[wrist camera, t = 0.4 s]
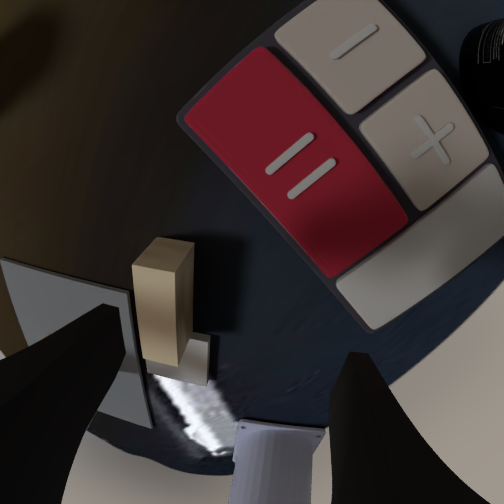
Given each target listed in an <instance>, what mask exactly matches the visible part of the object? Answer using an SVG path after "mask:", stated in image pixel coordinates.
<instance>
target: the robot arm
mask: <svg viewBox="0 0 504 504" xmlns="http://www.w3.org/2000/svg"><path fill="white" fill-rule="evenodd" d="M125 355H126V349H125V344H124V338H123V332H122V325H121V318H120V311H119V307H115V306H112V305H108V304H104V303H102V304H101V305H99V306H97V307H95V308H93V309H92V310H90V311H88V312H87V313H85V314H83V315H82V316H80V317H78V318H77V319H75V320H74V321H72V322H70V323H69V324H67V325H65V326H64V327H62V328H60V329H59V330H57V331H55V332H54V333H52V334H50V335H49V336H47V337H45V338H43V339H41V340H40V341H38V342H36V343H34V344H32V345H30V346H29V347H27V348H25V349H23V350H21V351H19V352H17V353H15V354H13V355H11V356H8V357H6V358H4V359H2V360H0V504H61V501H62V497H63V493H64V490H65V486H66V482H67V479H68V476H69V472H70V470H71V467H72V464H73V461H74V458H75V455H76V452H77V450H78V447H79V445H80V442H81V440H82V437H83V435H84V433H85V431H86V429H87V427H88V425H89V424H90V422H91V420H92V418H93V417H94V415H95V413H96V411H97V410H98V408H99V406H100V404H101V403H102V401H103V399H104V398H105V396H106V394H107V392H108V391H109V389H110V387H111V385H112V384H113V382H114V380H115V378H116V376H117V374H118V371H119V369H120V367H121V364H122V362H123V359H124V357H125ZM329 434H330V448H331V465H332V502H331V504H490V503H489V502H487V501H486V500H485V499H483V498H482V497H481V496H480V495H478V494H477V493H476V492H475V491H473V490H472V489H471V488H470V487H468V486H467V485H466V484H465V483H464V482H463V481H462V480H461V479H460V478H459V477H458V476H457V475H456V474H455V473H454V472H453V471H452V470H451V469H450V468H449V467H448V466H447V465H446V464H445V463H444V462H443V461H442V460H441V459H440V458H439V457H438V455H437V454H436V453H435V452H434V451H433V449H432V448H431V447H430V446H429V445H428V443H427V442H426V441H425V440H424V438H423V437H422V436H421V435H420V433H419V432H418V430H417V429H416V428H415V426H414V425H413V423H412V422H411V421H410V419H409V418H408V417H407V415H406V414H405V412H404V411H403V409H402V407H401V406H400V404H399V403H398V401H397V400H396V398H395V397H394V395H393V393H392V392H391V390H390V389H389V387H388V385H387V384H386V382H385V380H384V379H383V377H382V376H381V374H380V372H379V371H378V369H377V367H376V366H375V364H374V362H373V361H372V359H371V358H370V356H369V354H367V353H358V352H349V354H348V356H347V358H346V361H345V363H344V365H343V367H342V369H341V372H340V374H339V376H338V378H337V380H336V382H335V384H334V386H333V388H332V391H331V393H330V405H329ZM324 435H325V429H322V428H311V427H300V426H291V425H282V424H274V423H267V422H260V421H254V420H247V419H241V420H240V421H239V426H238V431H237V437H236V443H235V448H234V454H233V462H235V463H236V465H235V470H234V475H233V480H232V485H231V490H230V495H229V501H228V504H311V483H312V455H313V453H314V452H315V450H316V448H317V447H318V445H319V443H320V442H321V440H322V438H323V437H324Z"/></svg>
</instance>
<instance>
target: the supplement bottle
mask: <svg viewBox="0 0 504 504" xmlns="http://www.w3.org/2000/svg"><path fill="white" fill-rule="evenodd" d="M459 70H460V77H461V82H462V85H463V89H464V91H465V94H466V96H467V99H468V101H469V103H470V104H471V106H472V108H473V109H474V111H475V112H476V114H477V115H478V116H479V118H480V119H481V120H482V121H483V122H484V123H485V124H486V125H487V126H489V127H490V128H491V129H493V130H494V131H496V132H498V133H500V134H503V135H504V18H502V19H498V20H494V21H491V22H488V23H484V24H481V25H479V26H477V27H475V28H473V29H472V30H471V31H470V32H469V33H468V34H467V36H466V37H465V39H464V41H463V43H462V46H461V50H460V56H459Z"/></svg>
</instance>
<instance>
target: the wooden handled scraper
mask: <svg viewBox="0 0 504 504" xmlns="http://www.w3.org/2000/svg"><path fill="white" fill-rule="evenodd" d="M194 244H195V243H193V242H186V241H180V240H174V239H168V238H162V237H157V238H156V239H155V240H154V241H153V242H152V243H151V244H150V245H149V246H148V247H147V248H146V250H145V251H144V252H143V253H142V254H141V255H140V256H139V257H138V258H137V260H136V261H135V262H134V263H133V264H132V271H133V282H134V293H135V302H136V311H137V319H138V327H139V334H140V341H141V348H142V355H143V358H144V359H146V366H147V372H148V373H152V374H156V375H160V376H163V377H167V378H171V379H175V380H180V381H184V382H188V383H193V384H197V385H202V386H206V387H207V383H208V380H209V357H210V335H206V334H201V333H196V332H193V275H194Z"/></svg>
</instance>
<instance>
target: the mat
mask: <svg viewBox="0 0 504 504" xmlns="http://www.w3.org/2000/svg"><path fill="white" fill-rule="evenodd" d="M0 262H1V266H2V270H3V273H4V277H5V280H6V284H7V287H8V290H9V293H10V297H11V300H12V303H13V306H14V309H15V312H16V314H17V317H18V320H19V323H20V325H21V328H22V331H23V333H24V336H25V338H26V341H27V343H28V346H30V345H32V344H34V343H36V342H38V341H40V340H41V339H42V338H43V337H44V336H45V335H46V334H49V335H50V334H52V333H54V332H55V331H57V330H59V329H60V328H62V327H64V326H65V325H67V324H69V323H70V322H72V321H74V320H75V319H77V318H78V317H80V316H82V315H83V314H85V313H87V312H88V311H90V310H92V309H93V308H95V307H97V306H99V305H101V304H102V303H104V304H108V305H112V306H115V307H119V311H120V318H121V325H122V332H123V338H124V344H125V349H126V355H125V357H124V359H123V362H122V364H121V367H120V369H119V372H118V374H117V376H116V378H115V380H114V382H113V384H112V385H111V387H110V389H109V391H108V392H107V394H106V396H105V398H104V399H103V401H102V403H101V404H100V406H99V408H98V411H101V412H103V413H106V414H109V415H112V416H114V417H117V418H120V419H123V420H126V421H129V422H132V423H135V424H138V425H141V426H145V427H148V428H151V429H152V427H153V425H152V420H151V416H150V412H149V407H148V403H147V398H146V393H145V389H144V384H143V379H142V373H141V368H140V362H139V357H138V351H137V345H136V338H135V332H134V325H133V318H132V310H131V302H130V293H129V291H128V290H123V289H119V288H115V287H110V286H106V285H102V284H98V283H94V282H90V281H86V280H82V279H78V278H74V277H70V276H67V275H63V274H59V273H55V272H52V271H48V270H44V269H41V268H37V267H34V266H30V265H27V264H23V263H20V262H16V261H13V260H10V259H6V258H3V257H2V258H1V259H0Z"/></svg>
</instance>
